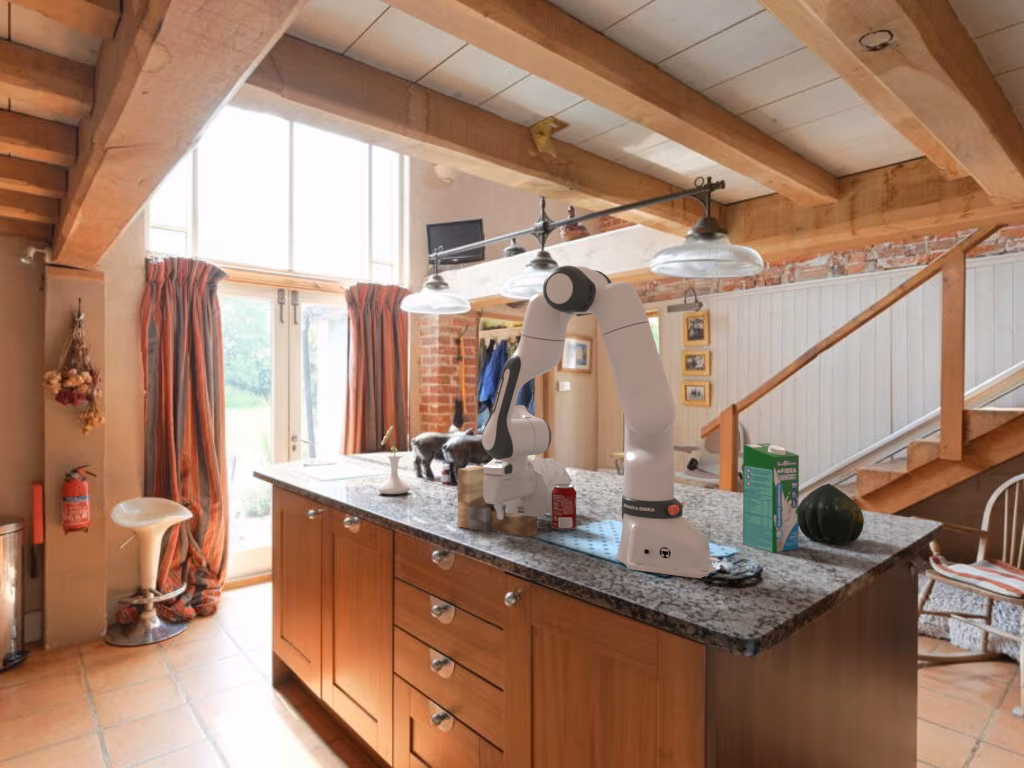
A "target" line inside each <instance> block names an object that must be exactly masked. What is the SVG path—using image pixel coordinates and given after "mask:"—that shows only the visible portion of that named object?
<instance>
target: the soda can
mask: <svg viewBox="0 0 1024 768" xmlns="http://www.w3.org/2000/svg"><path fill="white" fill-rule="evenodd" d="M551 528H553V529H554V530H556V531H558V530H560V531H559V532H568V531H567V530H571V531H573V530H574V529H576V528H577V491H576V489H575V485H574V484H555V485H554V489H553V490H552V513H551Z"/></svg>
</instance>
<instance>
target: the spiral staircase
mask: <svg viewBox="0 0 1024 768" xmlns="http://www.w3.org/2000/svg"><path fill="white" fill-rule="evenodd" d="M528 461H529V462H531V463H532V465H533V466H534V470H535V473H536V481H537V491H536V493H535V494H533V495H529V496H528V502H527V505H526V512H525V513H518V506H519V505H520V500H521V499H520V498H518V499H514V500H511V501H507V502H503V504H506V512H507V513H513V514H520V515H526V516H533V517H537V520H540V519H541V518H543V517H544V516H545V515H547V514H548V513H550V514H552V490H553V489H554V485H555V484H571V483H572V482H573V479H572V478H571V476H570V475H569V473H568V472H567V470H566V469H567V466H565V465H563V464H562V463H560V462H558V461H557V460H555V458H554V457H546V458H542V457H541V455H538V456H536V458H534V459H533V460H532V458H531V457H528Z"/></svg>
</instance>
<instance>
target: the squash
mask: <svg viewBox="0 0 1024 768" xmlns="http://www.w3.org/2000/svg"><path fill="white" fill-rule="evenodd" d="M864 523H865V519H864V515H863V512H862V509H861V507H860V506H859V505H858V504H857V502H856V501H854V500H853V499H852V498H850V496H848V495H847V494H846V493H844V492H843V491H842V490H841V489H839V488H838V487H836V486H835V485H832V484H831V483H825V484H823V485H821V486H819V487H817V488H815V489H813V490H812V491H810V492H809V493H808V494H807V495H806V496H805V497H804V498H803V499H802V500H801V502H800V503H799V529H800V530H799V531H800V532H801V533H802V535H804V536H805V537H806V538H808V539H809V540H813V541H820V540H821V541H822V540H824V539H825V540H826V541H827V540H828V541H829V540H831V541H832V543H833V544H835V545H838V546H842V545H845V544H849V543H852V542H855V541H856V540H858V538H860V536H861V535H862V532H863V529H864Z"/></svg>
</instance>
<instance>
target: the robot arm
mask: <svg viewBox="0 0 1024 768" xmlns="http://www.w3.org/2000/svg"><path fill="white" fill-rule="evenodd" d="M588 315H593V316H594V318H595V319H596V321H597V323H598V327H599V330H600V334H601V338H602V341H603V345H604V348H605V351H606V352H605V353H606V355H607V358H608V359H607V360H608V361H609V366H610V370H611V373H612V376H613V380H614V381H613V382H614V384H615V387H616V392H617V395H618V398H619V403H620V407H621V410H622V414H623V417H624V449H623V450H624V455H623V456H624V457H623V460H624V461H623V473H624V474H623V495H622V496H621V518H622V529H621V536H620V541H619V546H618V551H617V553H616V556H615V557H616V560H617V561H618V562H621V563H622V564H624V565H625V567H626V568H627V569H629V570H634V571H639V572H648V573H654V574H664V575H671V576H677V577H679V576H680V577H686V578H694V579H703V578H702V577H704V576H705V575H707V574H709V573H711V572H712V571H714V570H715V569H716V568H714V567H713V565H712V561H720V562H721V560H720V559H718V558H716V557H713V556H711V549H710V543H709V540H708V537H707V536H706V534H704V533H703V532H702V531H700V530H699V529H698V528H697V527H696V526H695V525H693V524H692V523H691V522H690V521H689V520H688V519H686V518H685V517H684V516H683V510H684V509H683V508H685V501H683V502H680V501H679V500H678V499H677V498H675V455H674V454H675V453H674V424H675V421H676V417H677V408H676V407H677V406H676V404H675V400H674V398H673V395H672V391H671V388H670V384H669V381H668V380H667V376H666V373H665V369H664V367H663V364H662V361H661V357H660V355H659V350H658V348H657V344H656V341H655V338H654V335H653V332H652V331H653V330H652V327H651V323H650V321H649V317H648V314H647V311H646V309H645V306H644V304H643V302H642V300H641V297H640V296H639V294H638V291H637V290H636V288H635V287H634V285H633V284H631V283H629V282H627V281H614V282H612V280H611V279H610V277H608V276H607V275H606V274H605V273H603V272H602V271H599V270H595V269H592V268H591V269H590V268H588V267H586V266H574V265H563V266H559V267H557V268H555V269H552V271H550V272H549V273H548V274H547V275H546V277H545V280H544V282H543V287H542V291H541V292H538V293H535V294H534V295H533V296H531V297H530V299H529V302H528V305H527V307H526V310H525V313H524V318H523V323H522V327H521V332H520V333H521V335H520V339H519V343H518V346H517V347H516V349H515V351H514V353H513V354H512V355H511V356H510V357H508V358H507V360H506V361H505V363H504V365H503V368H502V371H501V373H500V374H501V375H500V377H499V381H498V385H497V388H496V391H495V394H494V398H493V403H492V406H491V409H490V413H489V416H488V419H487V421H486V423H485V425H484V428H483V430H482V432H481V433H482V434H481V445H482V448H483V450H484V451H485V452H486V453H487V454H488V455H489V456H490V457H491V458H492V459H491V460H490V461H489V462H487V463H486V464H485V465H483V466H484V467H483V472H484V473H485V474H486V475H485V477H484V482H483V497H484V500H485V502H486V503H487V504H494V508H495V510H496V512H497V519H500V520H502V519H505V518H506V516H505V515H506V512H504V511H503V508H502V507H503V502H507V501H511V500H514V499H518V498H520V499H521V500H520V505H519V506H518V513H525V512H526V505H527V502H528V496H529V495H533V494H535V493H536V491H537V481H536V473H535V470H534V466H533V465H532V463H531V462H529V461H528V459H529V457H528V456H535V455H538V456H539V455H541V454H545V453H546V452H547V450H548V449H549V448H550V446H551V443H552V430H551V427H550V426H549V424H548V422H547V421H546V420H544V419H543V418H539V417H537V416H534V415H533V414H531V413H530V412H529V411H528V410H527V407H526V406H525V405H523V404H517V399H518V395H519V393H520V391H521V389H522V388H523V386H524V385H525V384H526V383H528V382H530V380H532V379H535V378H536V377H539V376H541V375H544V374H546V373H548V372H550V371H551V370H553V369H555V368H556V367H557V366H558V364H560V362H561V360H562V358H563V355H564V350H565V344H566V335H567V329H568V325H569V323H570V321H571V319H572V318H573V317H575V316H576V317H584V316H588ZM713 563H715V562H713Z"/></svg>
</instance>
